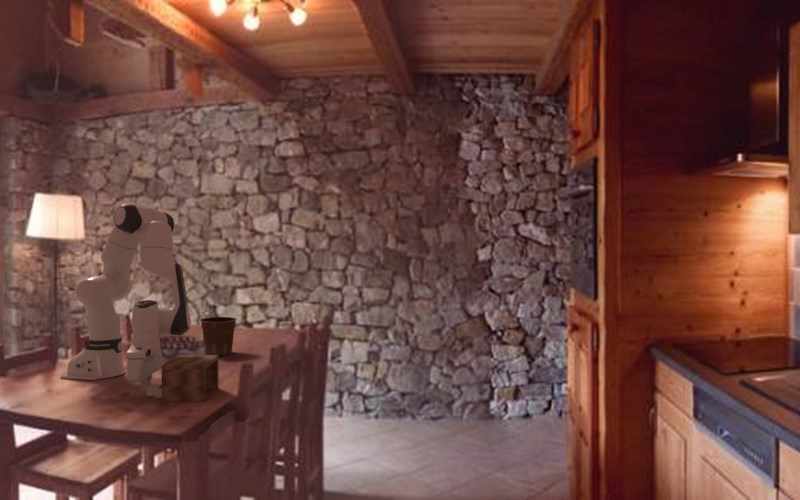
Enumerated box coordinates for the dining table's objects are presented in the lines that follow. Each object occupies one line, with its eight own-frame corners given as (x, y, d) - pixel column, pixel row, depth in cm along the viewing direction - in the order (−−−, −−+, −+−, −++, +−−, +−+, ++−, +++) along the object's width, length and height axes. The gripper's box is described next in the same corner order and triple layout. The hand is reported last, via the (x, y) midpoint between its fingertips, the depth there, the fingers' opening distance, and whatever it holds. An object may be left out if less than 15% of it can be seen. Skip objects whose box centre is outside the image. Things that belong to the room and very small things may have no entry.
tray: (143, 398, 191) (143, 377, 191) (153, 391, 199) (153, 372, 199) (200, 398, 192) (200, 378, 192) (208, 391, 200) (208, 372, 200)
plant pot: (244, 352, 266) (244, 318, 266) (216, 359, 252) (216, 322, 252) (220, 349, 275) (220, 315, 274) (192, 354, 261) (192, 319, 261)
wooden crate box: (161, 401, 188) (161, 365, 187) (179, 388, 204) (178, 355, 203) (204, 401, 188) (204, 365, 188) (218, 388, 204) (218, 355, 204)
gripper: (149, 342, 205) (149, 380, 205) (122, 354, 185) (123, 396, 185) (166, 342, 205) (167, 380, 206) (142, 354, 185) (142, 396, 185)
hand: (146, 388), depth 195 cm, fingers closed, pressing on tray
